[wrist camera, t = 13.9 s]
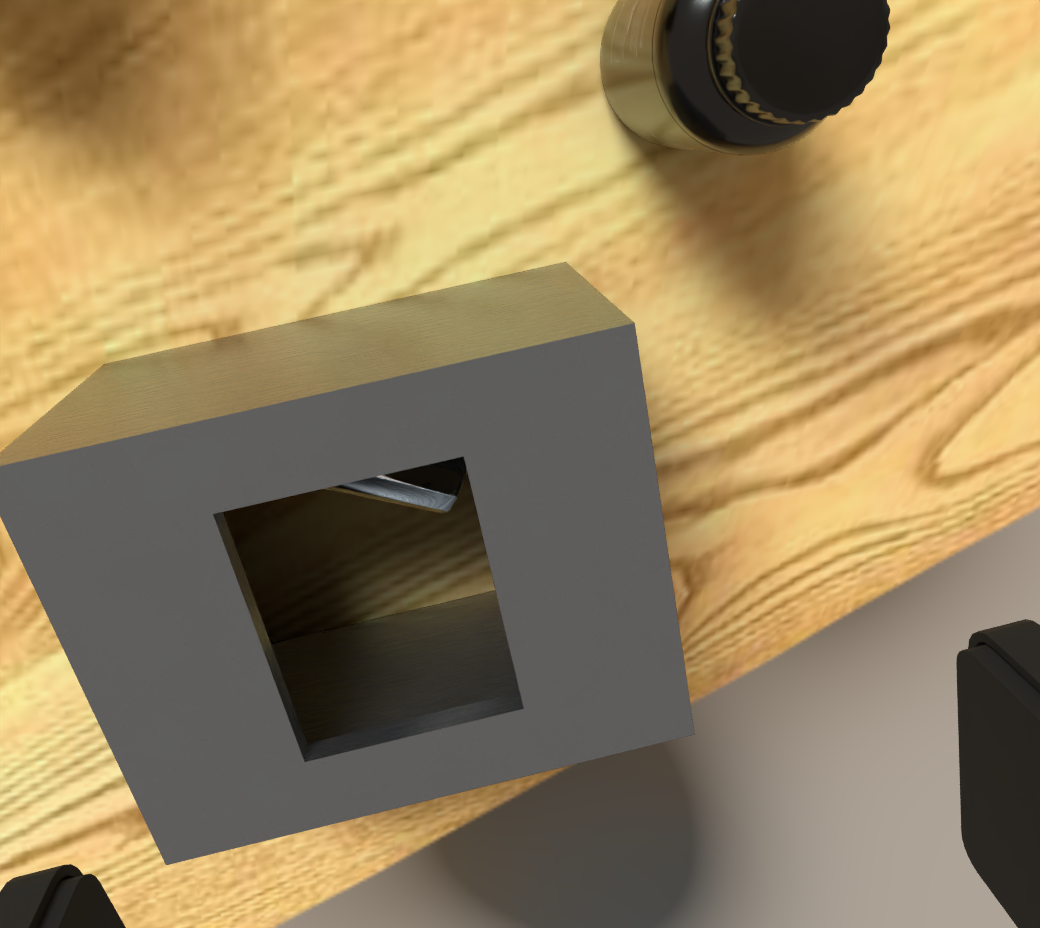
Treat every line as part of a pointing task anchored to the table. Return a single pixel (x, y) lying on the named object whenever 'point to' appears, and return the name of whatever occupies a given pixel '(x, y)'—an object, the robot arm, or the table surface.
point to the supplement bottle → (738, 68)
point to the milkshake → (414, 486)
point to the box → (375, 643)
